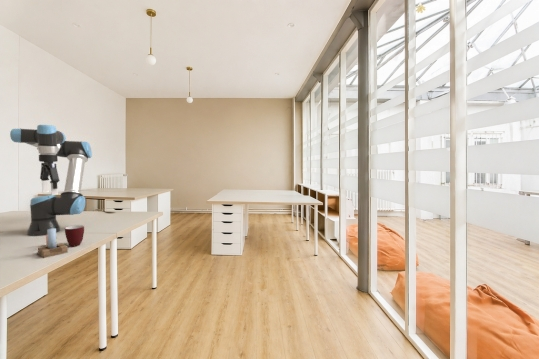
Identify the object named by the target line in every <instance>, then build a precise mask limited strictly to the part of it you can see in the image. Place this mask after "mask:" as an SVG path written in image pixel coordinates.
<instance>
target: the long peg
mask: <svg viewBox="0 0 539 359" xmlns="http://www.w3.org/2000/svg"><path fill="white" fill-rule="evenodd" d="M47 235H48V249H52V248H57V244H58V243H57V232H56V228H52V229H47Z"/></svg>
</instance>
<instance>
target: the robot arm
mask: <svg viewBox="0 0 539 359" xmlns="http://www.w3.org/2000/svg"><path fill="white" fill-rule="evenodd" d="M36 128H37V129H32V128H30V129H29V128H20V127H19V128H12V129H11V131H9V132H10V133H9V134H10V135H9V137H10V139H11V140H12V142H14V143H20V144H22V143H23V144H27V145H29V146H31V147H35V148H36V149H37V150H38V161H39V162H41V165H40V177H39V180H41V188H42V189H41V191H42V192H41V193H43V194H44V193H50V194H49V195H41V196H35V197H33V198H31V199H30V205H29V207H30V224H29V226H28V229H27V235H28V236H34V237H35V236H36V237H37V236H46V235H47V229H52V228H56V233H58V232H60V231H61V226H60V224H59V222H58V220H57V216H74V215H79V214H82V213H83V212H84V210H85V207H86V197H85V196H84V194H83V193H82V184H83V183H82V182H83V176H84V170H85V163H86V162H88V160H89V159H91V158H92V157H93V152H92V148H91V145H90V143H89V142H88V141H82V140H81V141H75V140H66V135H65V134H64V133H63V132H62V131H60V130H57V128H56V126H55V125H52V124H51V125H50V124H38V125H37V127H36ZM58 157H59V158H66V159H67V160H68V168H67V171H66V172H67V174H66V178H65V184H64V191H62V192H61V193H60V196H58V195H59V183H60V178H59V176H60V175H59V173H58V168H57V164H56V163H57V162H58ZM55 162H56V163H55Z"/></svg>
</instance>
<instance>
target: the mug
mask: <svg viewBox="0 0 539 359" xmlns="http://www.w3.org/2000/svg"><path fill="white" fill-rule="evenodd" d="M64 233H65V234H64V235H65V238H66V242H67V243H68V245H69V246H70V247H78V246H79V247H80V245H81V243H82V242H83V240H84V234H85V225H82V224H81V225H79V224H78V225H76V224H75V225H70V226H66V227H65V228H64Z"/></svg>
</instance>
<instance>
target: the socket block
mask: <svg viewBox="0 0 539 359" xmlns="http://www.w3.org/2000/svg"><path fill="white" fill-rule="evenodd" d="M68 252H69V251H68V246H67V245H66V244H63V243H62V242H59V243H57V248H52V249H48V246H46V245H45V246H40V247H37V254H38V255H39V256H40V257H42V258H49V257H53V256H58V255H63V254H66V253H67V254H68Z"/></svg>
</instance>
